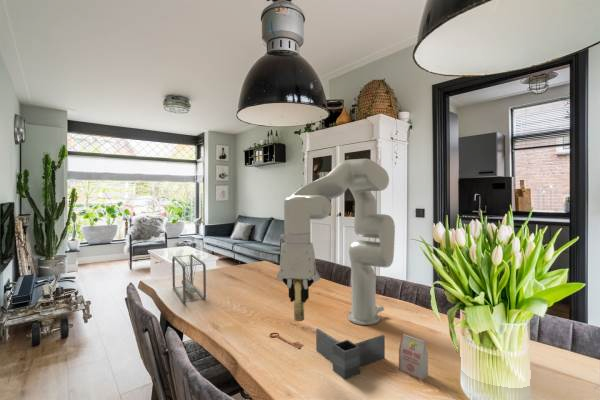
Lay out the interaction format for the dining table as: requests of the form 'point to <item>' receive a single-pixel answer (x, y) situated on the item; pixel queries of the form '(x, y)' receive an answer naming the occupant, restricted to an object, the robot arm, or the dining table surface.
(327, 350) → the bracket
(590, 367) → the dining table surface
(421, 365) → the tea bag
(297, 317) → the hinge pin
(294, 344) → the key
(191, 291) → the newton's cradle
